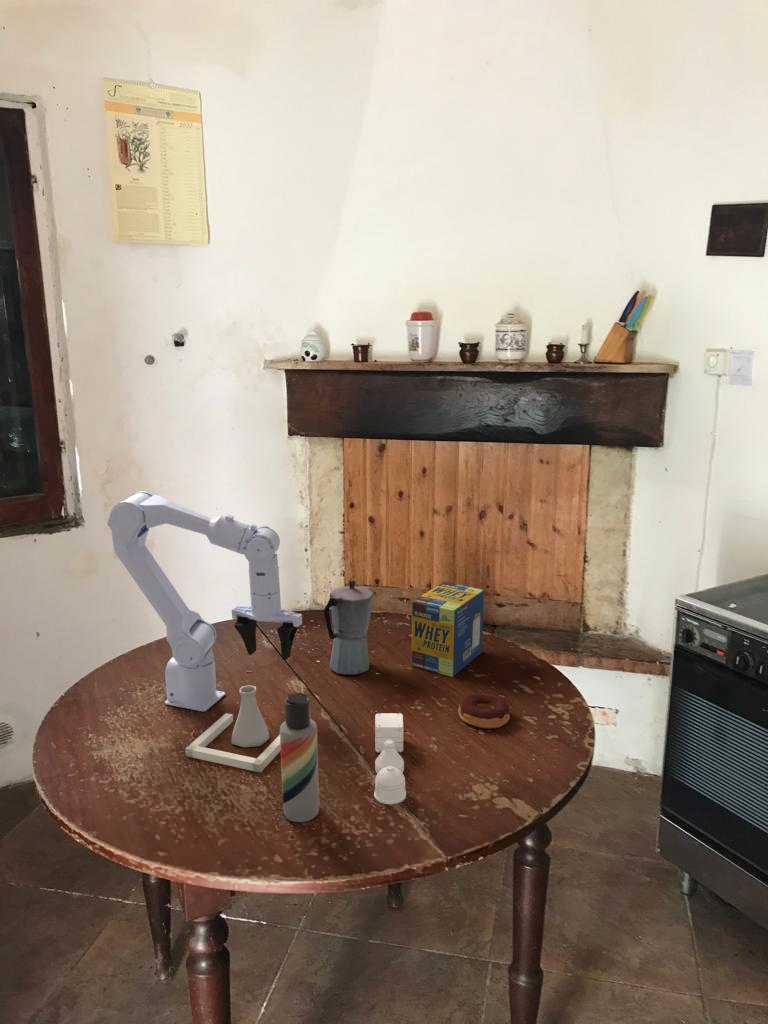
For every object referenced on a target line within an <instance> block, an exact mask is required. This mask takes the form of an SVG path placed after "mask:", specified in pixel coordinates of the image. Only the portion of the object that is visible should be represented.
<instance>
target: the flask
mask: <svg viewBox="0 0 768 1024" xmlns="http://www.w3.org/2000/svg"><path fill="white" fill-rule="evenodd" d="M238 691H239V693H238V694H239V695H240V699H241V700H240V707H239V711H238V714H237V719H236V721H235V724H234V726H233V731H232V734H231V741H230V742H231V744H232V745H235V746H237V747H238V746H239V747H241V748H251V747H252V748H253V747H261V746H262V745H263V744H264V743H266V742H267V741H268V740H270V730H269V728H268V726H267V724H266V722H265V719H264V717H263V715H262V713H261V710H260V709H259V706H258V703H257V698H256V694H257V686H254V685H243V686H241V687H240V688H239V690H238Z"/></svg>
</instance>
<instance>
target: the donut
mask: <svg viewBox="0 0 768 1024" xmlns="http://www.w3.org/2000/svg"><path fill="white" fill-rule="evenodd" d="M458 706H459V707H458V712H457V713H458V715H459V718H460V719H461V720H462V721H463V722H465V723H466V724H469V725H471V726H474V727H476V728H481V729H482V728H483V729H492V728H493V729H499V728H501V727H502V726H504V725H506V724H507V723H508V722H509V720H510V718H511V716H510V715H511V714H510V705H509V704H508V702H507V701H506V699H505V698H503V697H501V696H498V695H495V694H492V693H491V694H490V693H486V692H485V693H484V692H473V693H468V694H467V695H464V696H463V697H462V698H461V699H460V700H459V703H458Z"/></svg>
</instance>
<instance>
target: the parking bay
mask: <svg viewBox="0 0 768 1024" xmlns="http://www.w3.org/2000/svg"><path fill="white" fill-rule="evenodd" d="M233 722H234V714H232V713H228V712H226V713H224V714H223V715H222V716H220V717H219V719H218V720H216V721H215V722H214V723H213V724H212V725H211V726H209V728H207V729H206V730H205V731H203V732H202V733H201V734H200V735H199V736H198V737H197V738H195V740H193V741H192V742H191V743H190V744H189V745H188V746H186V748H185V756H186V757H187V758H192V759H197V760H202V761H206V762H211V763H217V764H220V765H223V766H225V765H226V766H230V767H234V768H238V769H243V770H248V771H251V772H256V773H262V772H263V771H264V770H265V768H267V766H268V765H269V764H270V763H271V762H272V761H273V760H274V759H275V757H277V755H278V754H279V753H281V748H280V734H278V736H277V737H276V738H275V739H274V740H273V741H272V742H271V743H270V744H269V745H268V747H266V748H265V749H264V750H263V752H262V753H260V754H259V755H258V757H257V758H256V757H253V756H252V757H251V756H246V755H241V754H237V753H233V752H232V753H231V752H228V751H223V750H219V749H213V748H208V747H207V746H208V745H209V744H210V743H211V742H212V741H214V740H215V739H216V737H218V736H219V735H220V734H221V733H222V732H224V731H225V729H227V728H228V727H229V726H230V725H231V724H233Z"/></svg>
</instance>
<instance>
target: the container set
mask: <svg viewBox="0 0 768 1024" xmlns="http://www.w3.org/2000/svg"><path fill="white" fill-rule="evenodd" d="M403 718H404V716H403V714H402V713H399V712H398V713H397V712H396V713H395V712H393V713H390V712H389V713H388V712H387V713H385V712H384V713H376V714H375V718H374V724H375V725H374V730H375V731H374V734H375V735H374V739H375V743H374V745H375V746H374V748H375V749H374V751H375V752H377V753H380V754H378V756H377V758H376V759H375V760H374V761H375V762H374V765H375V766H374V770H375V772H376V773H377V774H376V775H375V779H374V786H375V788H374V790H373V791H374V792H373V795H374V798H375V800H376V801H377V802H379V803H381V804H385V805H396V804H400V803H401V802H403V801H404V800H405V799H406V797H407V790H406V779H405V778H406V777H405V775H404V774H403V773H404V771H405V760H404V759H403V757H402V756H401V755H400V753H402V752H404V719H403Z"/></svg>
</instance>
